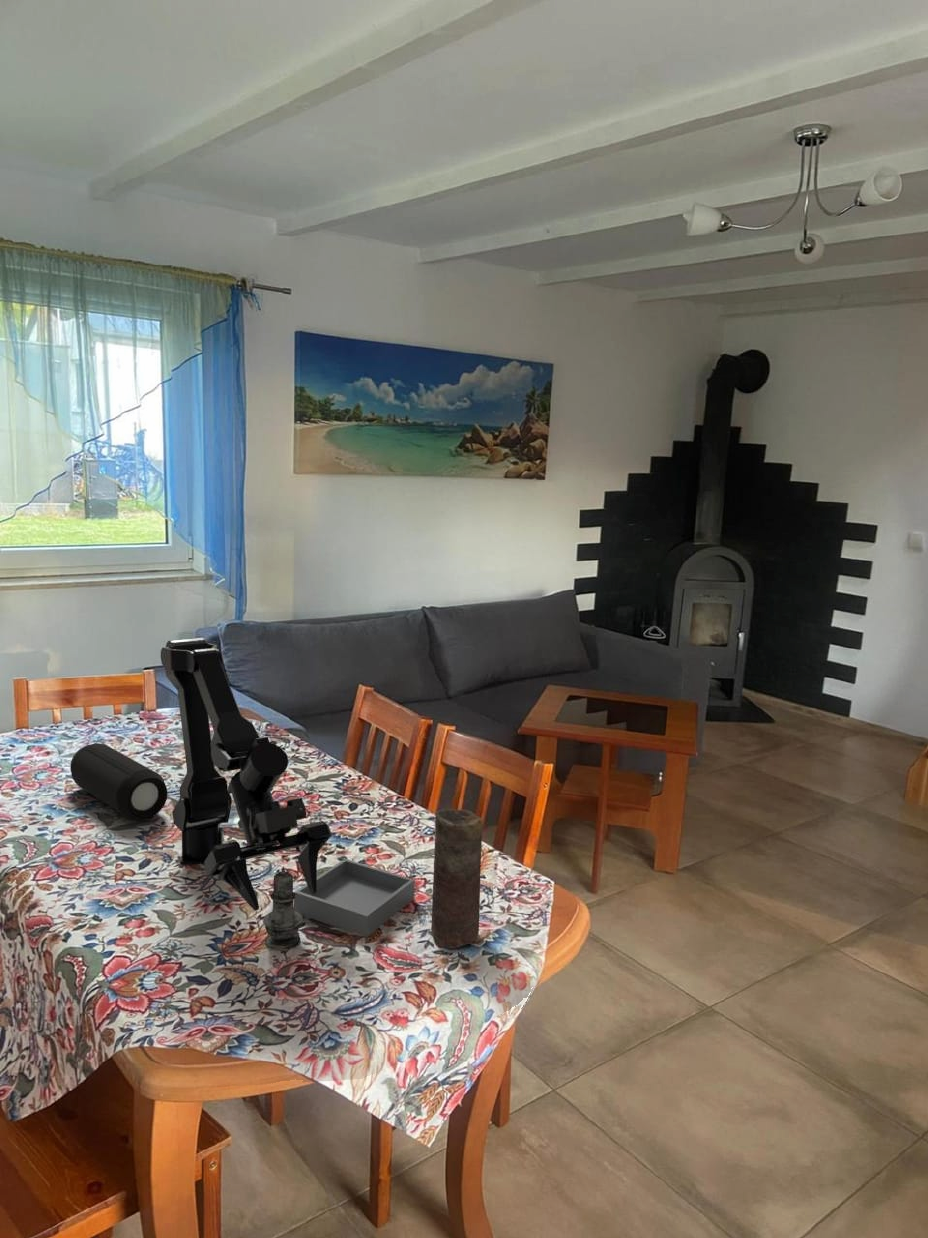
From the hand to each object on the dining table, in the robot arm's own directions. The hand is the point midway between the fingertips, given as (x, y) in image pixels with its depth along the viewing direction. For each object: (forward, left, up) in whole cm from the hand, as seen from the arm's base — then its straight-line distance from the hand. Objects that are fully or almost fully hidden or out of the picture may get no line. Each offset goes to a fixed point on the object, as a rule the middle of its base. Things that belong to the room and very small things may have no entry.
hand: (286, 901), depth 133 cm
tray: (+10, +11, -7) cm, 17 cm away
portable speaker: (-36, +56, -7) cm, 67 cm away
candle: (+25, 0, -7) cm, 26 cm away
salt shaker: (-1, +1, -7) cm, 7 cm away
